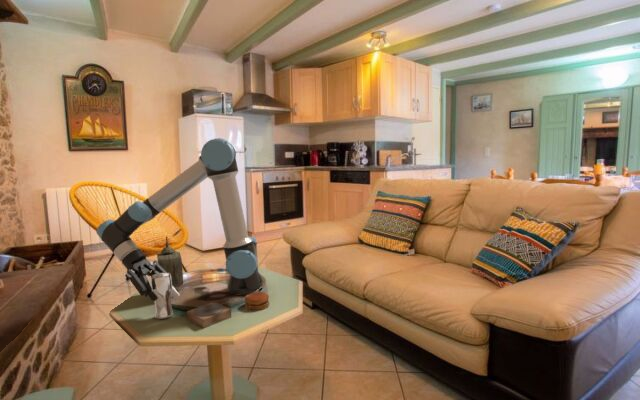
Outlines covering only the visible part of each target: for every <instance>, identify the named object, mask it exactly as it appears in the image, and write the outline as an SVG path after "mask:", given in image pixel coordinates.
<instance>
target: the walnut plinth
mask: <svg viewBox="0 0 640 400" xmlns="http://www.w3.org/2000/svg"><path fill="white" fill-rule="evenodd" d="M186 318H187V320H188V321H190V322H191V323H194V324H195V325H197V326H199V327H200V328H201V329H205V328H206V329H207V328H208V327H211V326H213V325H215V324H218V323H221V322H222V321H223V322H224V321H225V320H228V319H230V318H232V309H231V308H229V307H226V306H225V305H223V304H220V303H218V302H215V301H213V302H210V303H207V304H204V305H200V306H198V307H195V308H193V309H189V310H187V311H186Z"/></svg>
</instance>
